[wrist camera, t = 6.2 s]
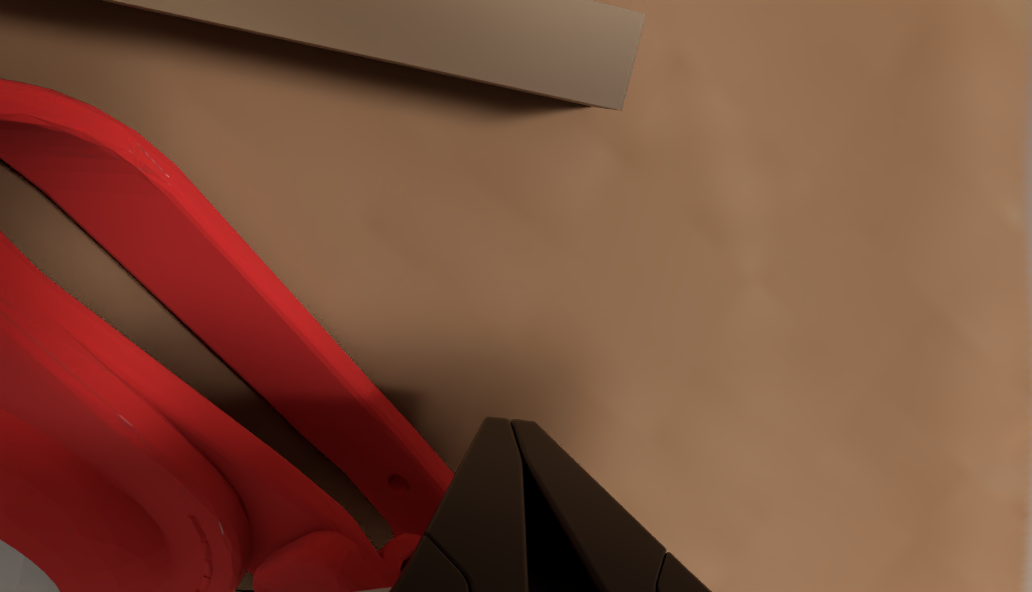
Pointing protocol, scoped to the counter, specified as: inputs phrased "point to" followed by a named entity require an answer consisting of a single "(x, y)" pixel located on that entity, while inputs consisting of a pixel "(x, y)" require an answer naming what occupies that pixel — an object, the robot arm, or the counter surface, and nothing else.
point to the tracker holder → (177, 398)
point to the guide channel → (453, 38)
